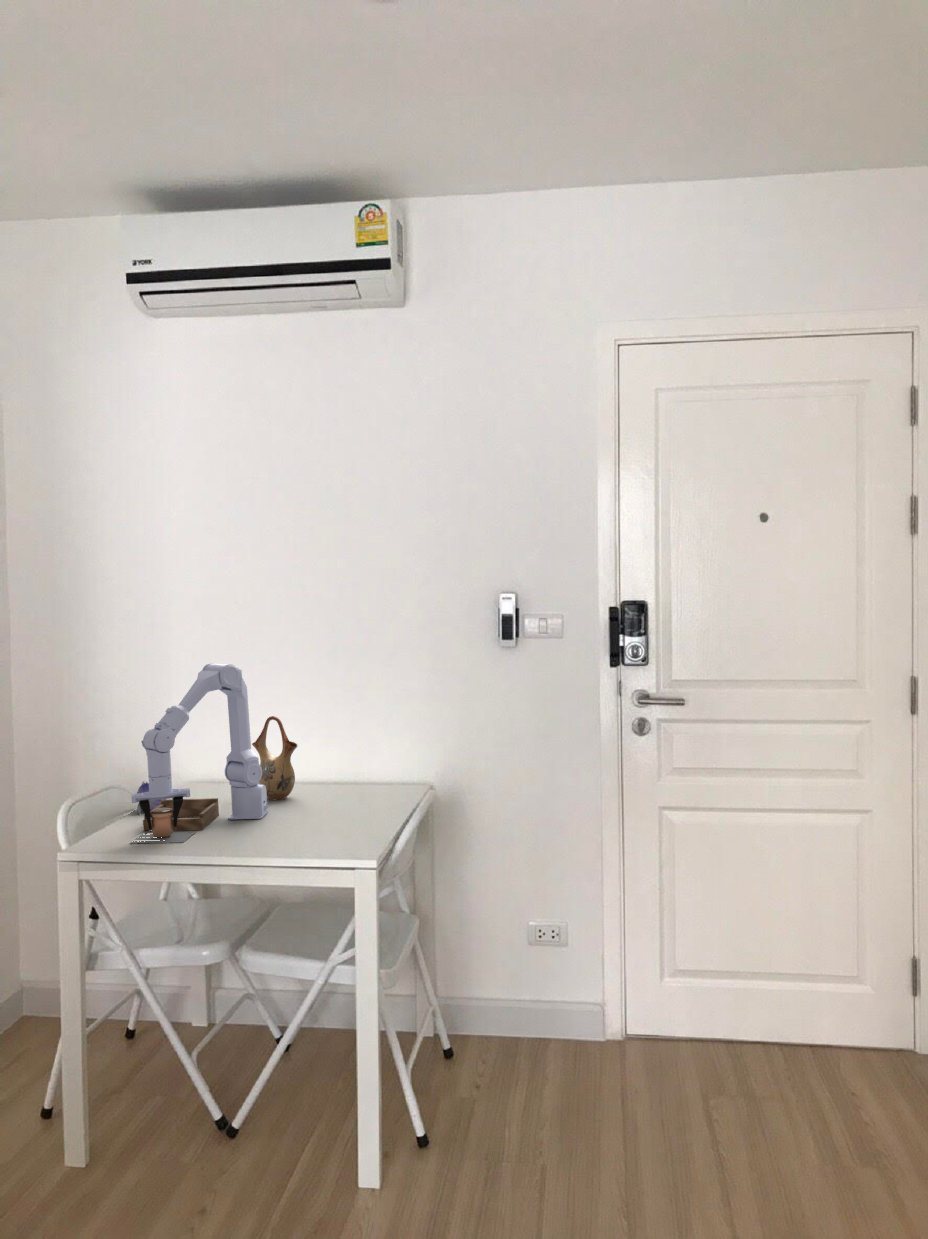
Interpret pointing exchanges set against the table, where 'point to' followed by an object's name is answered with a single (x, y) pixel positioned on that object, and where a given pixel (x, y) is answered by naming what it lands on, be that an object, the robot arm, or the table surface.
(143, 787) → the flower
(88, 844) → the table surface
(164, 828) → the terracotta pot
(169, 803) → the frame
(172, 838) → the slate mat
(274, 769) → the ceramic vessel
